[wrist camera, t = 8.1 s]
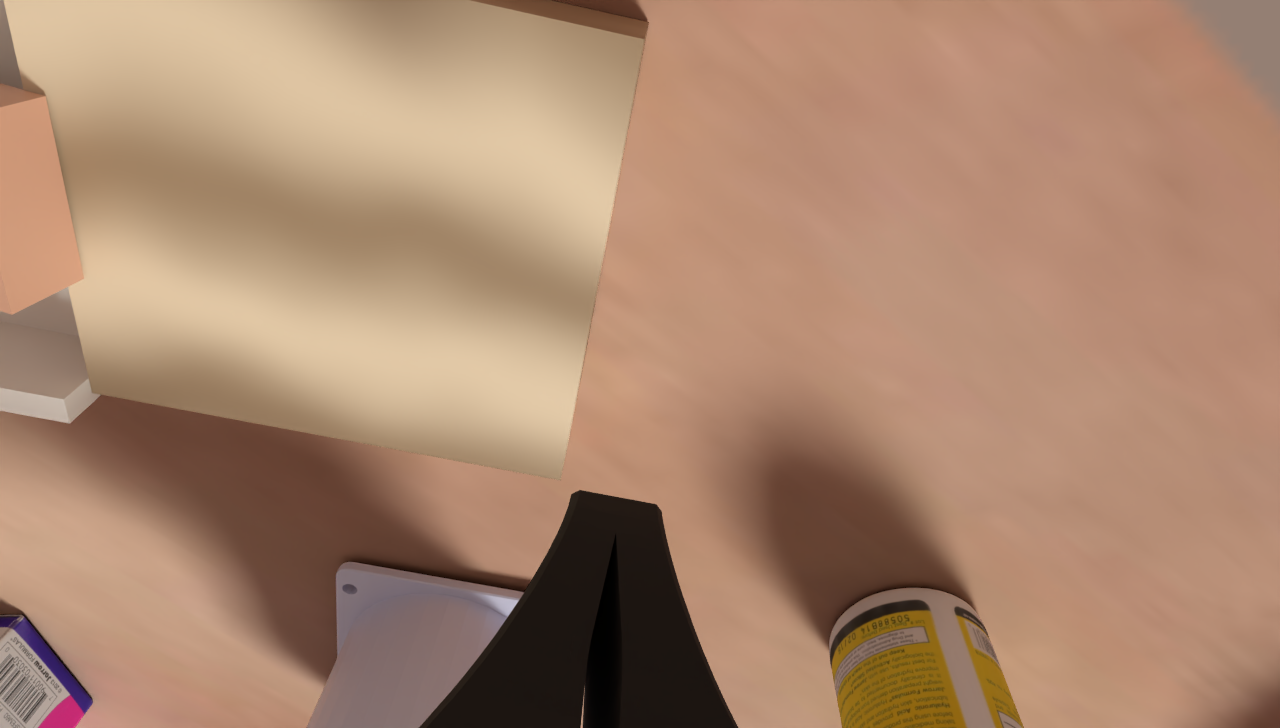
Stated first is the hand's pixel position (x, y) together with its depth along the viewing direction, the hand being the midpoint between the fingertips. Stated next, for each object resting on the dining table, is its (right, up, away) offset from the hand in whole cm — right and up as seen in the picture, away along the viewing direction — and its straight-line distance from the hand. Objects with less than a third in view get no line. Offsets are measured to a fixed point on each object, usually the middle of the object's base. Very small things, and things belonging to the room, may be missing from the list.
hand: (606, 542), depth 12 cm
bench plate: (-7, +7, +8) cm, 12 cm away
